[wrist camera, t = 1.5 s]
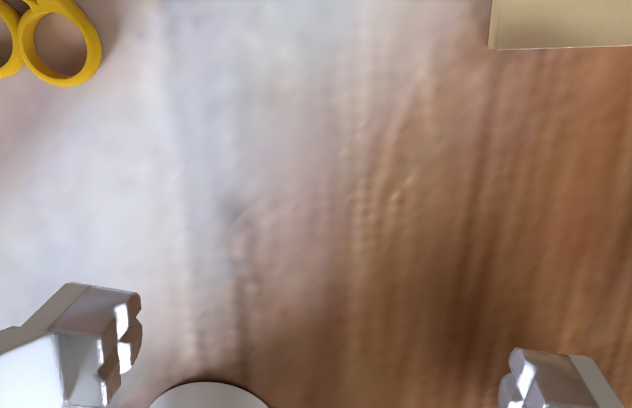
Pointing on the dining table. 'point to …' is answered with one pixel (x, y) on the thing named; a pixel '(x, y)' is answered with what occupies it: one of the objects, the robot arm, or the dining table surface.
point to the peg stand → (559, 24)
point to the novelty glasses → (23, 43)
